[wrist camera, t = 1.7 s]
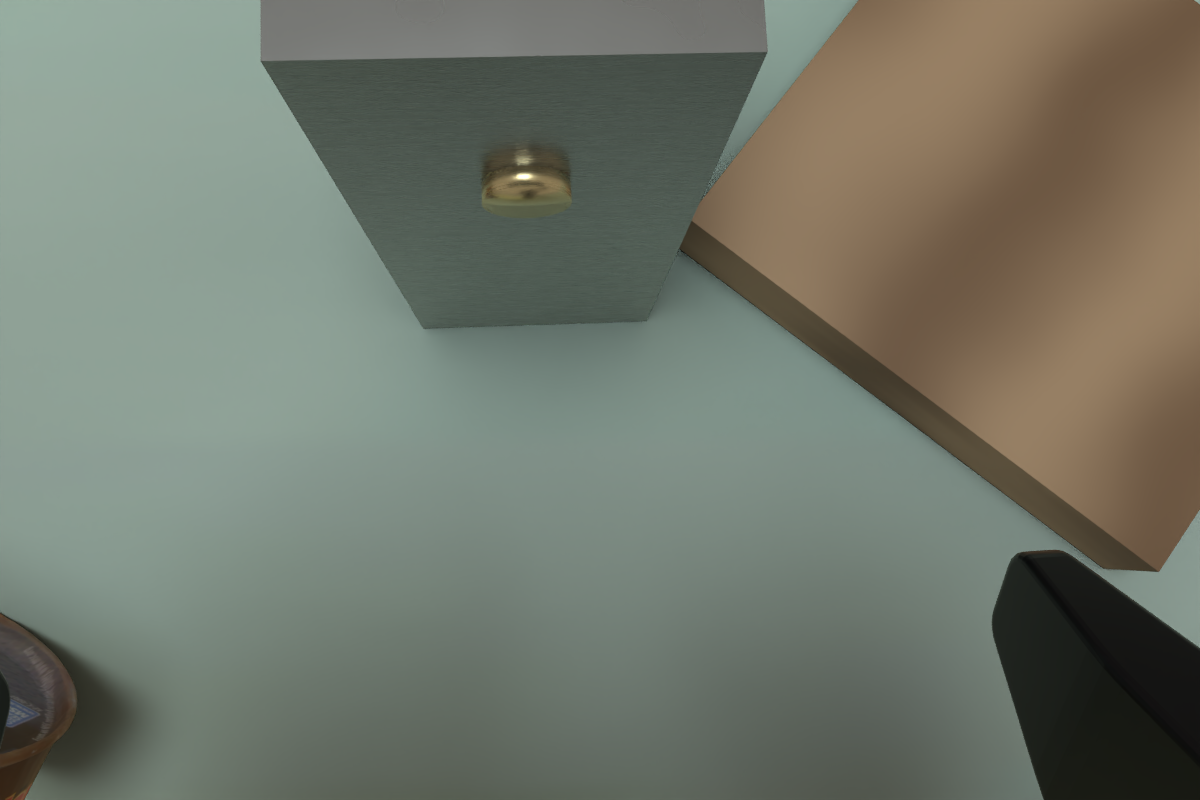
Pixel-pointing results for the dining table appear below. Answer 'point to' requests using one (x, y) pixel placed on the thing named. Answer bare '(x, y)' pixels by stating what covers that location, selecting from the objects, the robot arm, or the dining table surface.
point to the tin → (31, 707)
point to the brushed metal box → (519, 140)
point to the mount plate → (997, 245)
